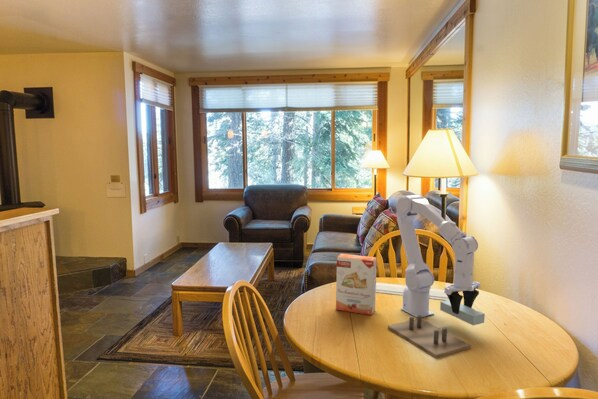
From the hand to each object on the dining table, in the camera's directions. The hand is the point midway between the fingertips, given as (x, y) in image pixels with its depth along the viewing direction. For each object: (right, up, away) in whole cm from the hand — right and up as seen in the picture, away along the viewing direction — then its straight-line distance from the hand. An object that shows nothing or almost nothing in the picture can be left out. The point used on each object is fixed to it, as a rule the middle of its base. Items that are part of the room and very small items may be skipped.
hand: (461, 311), depth 135 cm
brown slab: (-13, -7, -6) cm, 16 cm away
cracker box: (-33, -4, +17) cm, 38 cm away
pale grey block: (0, -2, 0) cm, 2 cm away
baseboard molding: (-7, -3, +36) cm, 37 cm away
